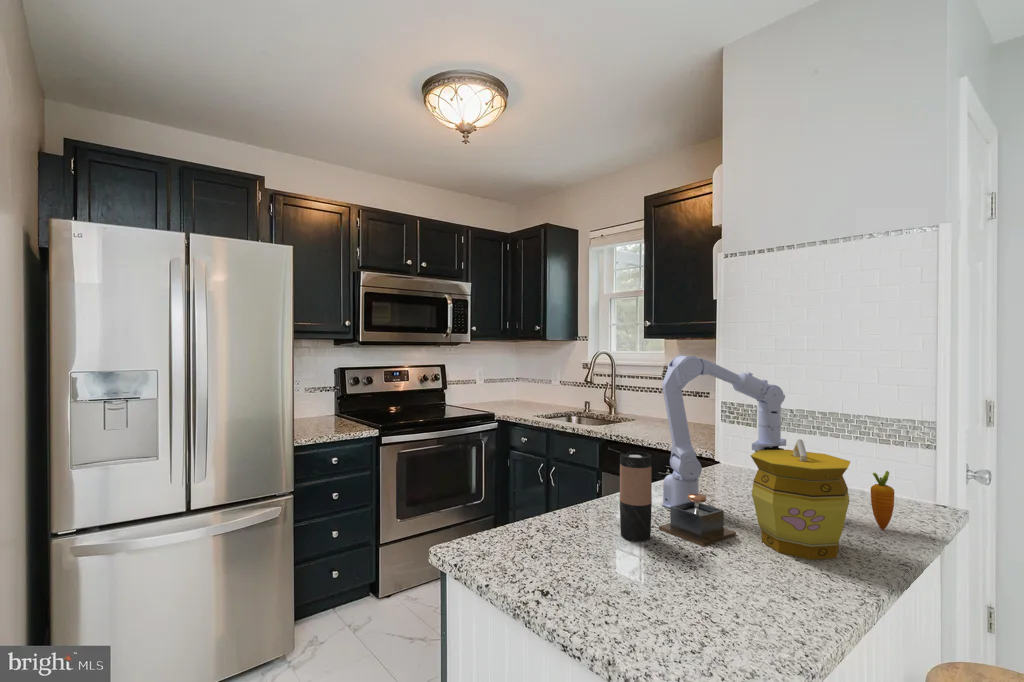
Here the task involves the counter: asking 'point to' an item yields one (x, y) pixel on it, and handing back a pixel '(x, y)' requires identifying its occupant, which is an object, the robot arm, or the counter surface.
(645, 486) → the travel mug
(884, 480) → the carrot
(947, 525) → the counter surface
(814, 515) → the container
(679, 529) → the knob box on board
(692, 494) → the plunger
